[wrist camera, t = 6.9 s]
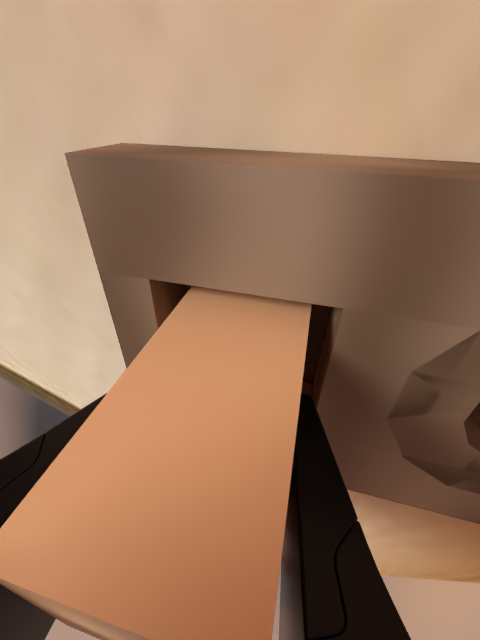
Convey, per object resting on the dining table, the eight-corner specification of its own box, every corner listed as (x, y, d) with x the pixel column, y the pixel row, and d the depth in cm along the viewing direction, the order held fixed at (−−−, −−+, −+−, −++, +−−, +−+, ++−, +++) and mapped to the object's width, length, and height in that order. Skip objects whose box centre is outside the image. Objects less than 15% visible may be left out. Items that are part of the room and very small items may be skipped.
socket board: (949, 189, 6) (1266, 231, 4) (552, 484, 13) (591, 553, 11) (122, 143, 9) (64, 153, 7) (169, 396, 16) (146, 436, 14)
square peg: (312, 301, 9) (265, 686, 3) (295, 385, 12) (250, 702, 6) (194, 283, 10) (-30, 566, 4) (201, 366, 13) (67, 625, 6)
